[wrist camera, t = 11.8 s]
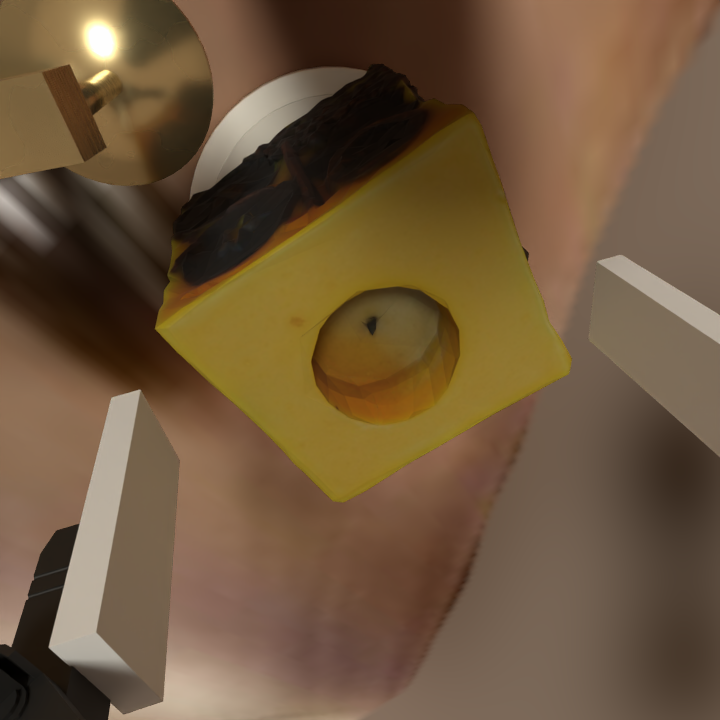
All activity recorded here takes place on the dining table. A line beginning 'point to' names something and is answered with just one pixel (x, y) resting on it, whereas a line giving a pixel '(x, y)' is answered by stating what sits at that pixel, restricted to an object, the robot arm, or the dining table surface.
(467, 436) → the dining table surface
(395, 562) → the dining table surface
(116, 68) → the balance
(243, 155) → the dish
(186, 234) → the candle
